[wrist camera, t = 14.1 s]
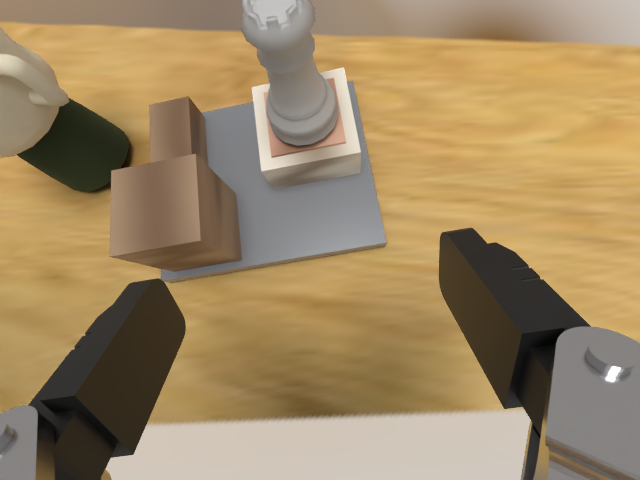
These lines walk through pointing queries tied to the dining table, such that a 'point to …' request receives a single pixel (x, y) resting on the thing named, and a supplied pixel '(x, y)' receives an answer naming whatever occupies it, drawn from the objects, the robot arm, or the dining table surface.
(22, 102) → the character mug
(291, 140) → the rook chess piece
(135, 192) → the walnut castle blocks
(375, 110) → the dining table surface
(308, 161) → the white square block
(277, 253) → the baseplate
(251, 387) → the dining table surface
